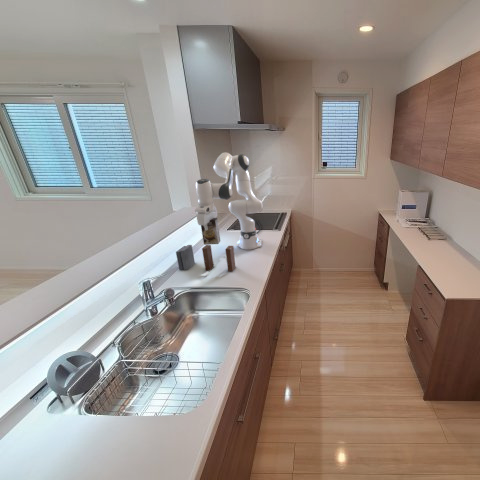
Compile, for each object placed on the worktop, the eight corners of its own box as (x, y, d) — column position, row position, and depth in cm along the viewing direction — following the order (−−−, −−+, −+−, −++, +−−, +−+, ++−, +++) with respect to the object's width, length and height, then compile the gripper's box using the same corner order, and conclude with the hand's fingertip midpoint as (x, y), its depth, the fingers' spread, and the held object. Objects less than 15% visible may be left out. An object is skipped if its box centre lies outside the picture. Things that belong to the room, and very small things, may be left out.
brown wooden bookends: (209, 266, 169) (206, 244, 163) (235, 267, 169) (233, 245, 163) (205, 270, 164) (202, 248, 158) (232, 271, 163) (230, 249, 158)
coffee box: (203, 245, 156) (199, 220, 151) (206, 241, 162) (202, 217, 157) (218, 244, 158) (214, 219, 152) (220, 240, 164) (217, 217, 158)
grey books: (187, 263, 173) (183, 244, 168) (194, 263, 173) (191, 244, 168) (179, 269, 164) (175, 250, 159) (187, 270, 164) (183, 250, 159)
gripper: (208, 202, 161) (211, 222, 166) (193, 210, 142) (197, 233, 147) (218, 202, 161) (221, 223, 166) (204, 210, 142) (207, 233, 147)
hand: (209, 227), depth 156 cm, fingers closed on coffee box, 7 cm apart
